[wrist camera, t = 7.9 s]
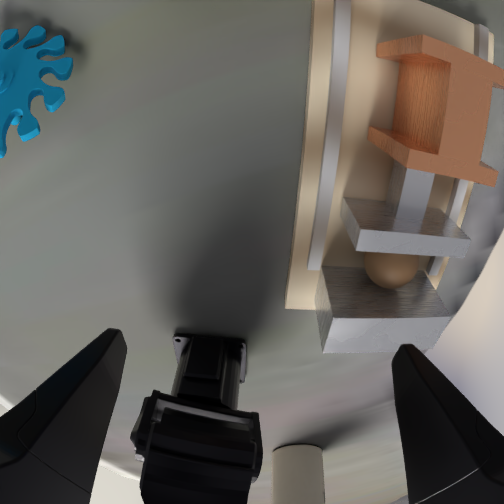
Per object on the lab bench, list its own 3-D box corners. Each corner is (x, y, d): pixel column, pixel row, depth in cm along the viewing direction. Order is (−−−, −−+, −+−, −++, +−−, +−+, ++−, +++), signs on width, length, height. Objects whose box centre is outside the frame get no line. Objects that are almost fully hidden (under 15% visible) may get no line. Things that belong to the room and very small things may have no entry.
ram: (435, 225, 18) (475, 272, 13) (339, 215, 18) (362, 267, 13) (466, 72, 12) (525, 82, 8) (361, 40, 12) (402, 27, 8)
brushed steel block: (410, 301, 22) (432, 348, 17) (314, 299, 22) (322, 353, 18) (423, 270, 20) (450, 316, 16) (321, 265, 20) (333, 318, 16)
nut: (398, 260, 20) (412, 300, 18) (352, 257, 20) (362, 300, 18) (416, 220, 18) (436, 261, 15) (367, 215, 18) (381, 258, 15)
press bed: (421, 301, 23) (428, 315, 22) (284, 298, 23) (285, 314, 22) (483, 34, 11) (499, 34, 10) (312, -19, 12) (317, -28, 10)
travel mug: (265, 456, 43) (261, 552, 27) (282, 441, 38) (281, 552, 23) (308, 459, 43) (311, 550, 28) (330, 444, 39) (337, 547, 24)
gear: (102, 76, 14) (-37, 192, 10) (99, 121, 19) (-4, 212, 15) (32, -5, 11) (-81, 81, 7) (37, 42, 16) (-55, 116, 12)
